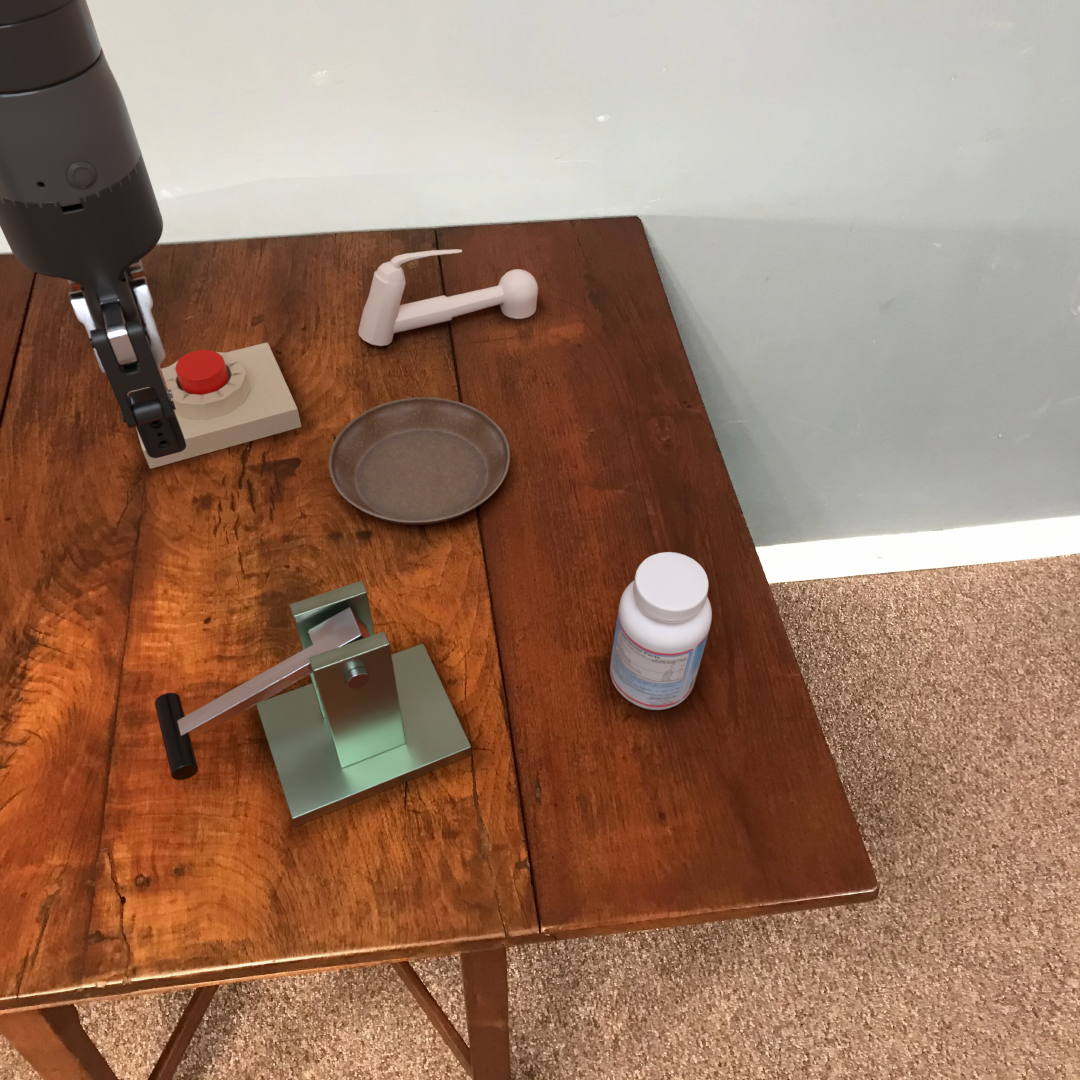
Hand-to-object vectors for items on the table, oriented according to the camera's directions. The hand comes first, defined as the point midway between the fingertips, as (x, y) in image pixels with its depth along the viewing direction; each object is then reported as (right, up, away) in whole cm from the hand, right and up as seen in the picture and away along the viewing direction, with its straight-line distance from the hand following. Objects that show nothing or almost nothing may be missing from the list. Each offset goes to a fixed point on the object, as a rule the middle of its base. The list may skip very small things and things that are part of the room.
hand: (156, 406), depth 58 cm
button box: (-5, +3, +26) cm, 26 cm away
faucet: (+15, +13, +35) cm, 40 cm away
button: (-5, +5, +23) cm, 24 cm away
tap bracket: (+12, -21, +5) cm, 25 cm away
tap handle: (+8, -17, -2) cm, 19 cm away
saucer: (+14, -3, +21) cm, 25 cm away
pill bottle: (+32, -18, +9) cm, 38 cm away
